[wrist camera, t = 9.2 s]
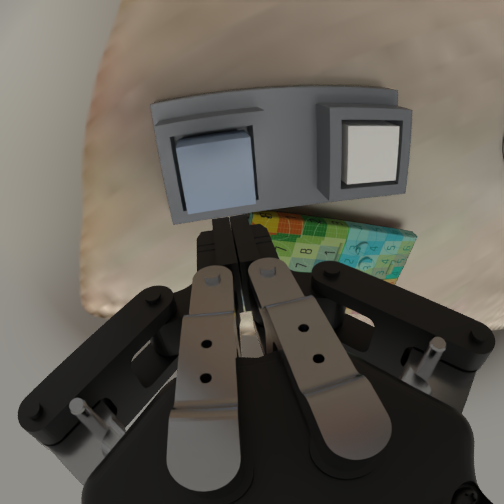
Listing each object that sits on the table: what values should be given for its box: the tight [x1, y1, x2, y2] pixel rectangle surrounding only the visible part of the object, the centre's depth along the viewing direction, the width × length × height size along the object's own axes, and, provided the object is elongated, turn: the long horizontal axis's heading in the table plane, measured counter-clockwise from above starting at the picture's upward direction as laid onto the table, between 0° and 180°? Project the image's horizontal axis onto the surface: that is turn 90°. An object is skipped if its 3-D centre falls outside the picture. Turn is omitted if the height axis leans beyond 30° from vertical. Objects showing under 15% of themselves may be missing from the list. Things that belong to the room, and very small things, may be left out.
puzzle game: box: [241, 211, 417, 314], centre depth 34 cm, size 12×5×20 cm
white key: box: [341, 120, 400, 184], centre depth 25 cm, size 5×5×3 cm
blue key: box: [176, 130, 256, 214], centre depth 22 cm, size 5×5×3 cm
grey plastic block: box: [150, 85, 412, 225], centre depth 25 cm, size 22×11×6 cm, turn 95°
